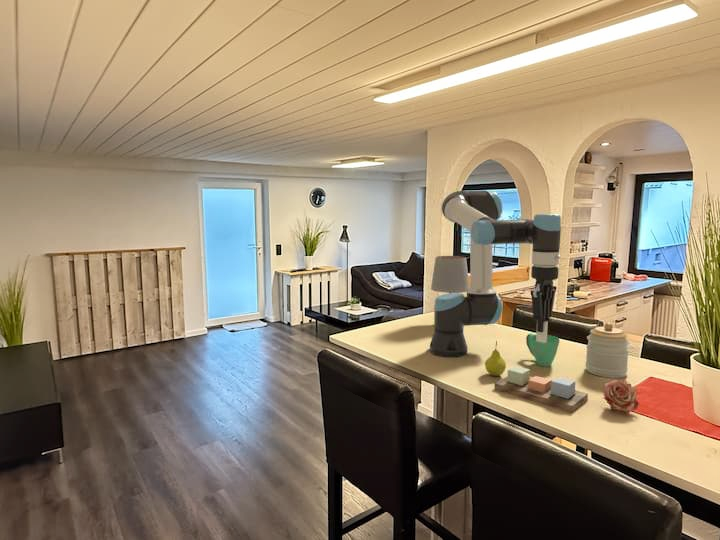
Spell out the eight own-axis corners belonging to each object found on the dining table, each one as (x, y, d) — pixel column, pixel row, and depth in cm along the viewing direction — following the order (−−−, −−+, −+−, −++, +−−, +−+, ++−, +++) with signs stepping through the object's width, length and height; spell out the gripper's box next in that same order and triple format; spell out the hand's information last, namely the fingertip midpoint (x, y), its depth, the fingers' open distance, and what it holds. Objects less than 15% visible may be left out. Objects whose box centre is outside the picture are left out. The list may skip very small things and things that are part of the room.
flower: (591, 395, 133) (598, 380, 127) (620, 388, 133) (628, 373, 128) (611, 424, 126) (618, 410, 120) (641, 417, 126) (650, 402, 121)
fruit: (502, 380, 150) (503, 345, 148) (482, 376, 153) (483, 343, 152) (507, 374, 155) (508, 340, 154) (487, 370, 159) (488, 338, 157)
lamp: (430, 328, 217) (431, 259, 212) (430, 319, 235) (431, 255, 231) (470, 329, 214) (471, 259, 209) (467, 320, 232) (468, 255, 228)
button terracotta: (528, 392, 138) (528, 380, 137) (535, 387, 141) (535, 375, 141) (544, 397, 134) (544, 384, 134) (551, 392, 138) (551, 379, 137)
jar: (622, 367, 160) (625, 320, 158) (631, 380, 148) (635, 329, 146) (582, 364, 164) (585, 317, 162) (588, 376, 152) (590, 326, 150)
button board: (494, 389, 142) (494, 383, 142) (512, 379, 151) (512, 373, 150) (571, 412, 125) (572, 405, 125) (587, 399, 133) (587, 393, 133)
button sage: (507, 381, 143) (507, 369, 142) (514, 377, 146) (515, 365, 146) (522, 385, 139) (522, 373, 139) (529, 381, 143) (529, 369, 142)
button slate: (550, 394, 133) (551, 381, 132) (557, 389, 136) (558, 376, 136) (568, 398, 129) (568, 385, 129) (574, 393, 133) (575, 381, 132)
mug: (564, 367, 162) (565, 340, 160) (541, 370, 159) (542, 342, 158) (537, 354, 176) (538, 330, 174) (516, 357, 173) (517, 332, 171)
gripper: (548, 268, 126) (544, 349, 130) (566, 264, 135) (562, 339, 138) (522, 266, 132) (519, 343, 135) (542, 262, 141) (538, 334, 144)
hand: (541, 341), depth 137 cm, fingers closed
